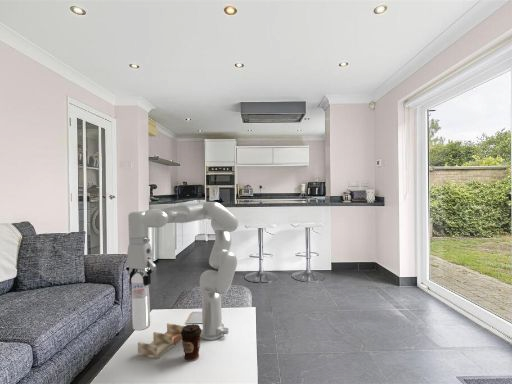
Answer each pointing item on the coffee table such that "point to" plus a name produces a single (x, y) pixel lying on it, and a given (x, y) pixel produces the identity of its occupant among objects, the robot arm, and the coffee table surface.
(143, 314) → the water bottle
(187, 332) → the coffee cup
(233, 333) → the coffee table surface
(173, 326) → the wooden bottle cradle
